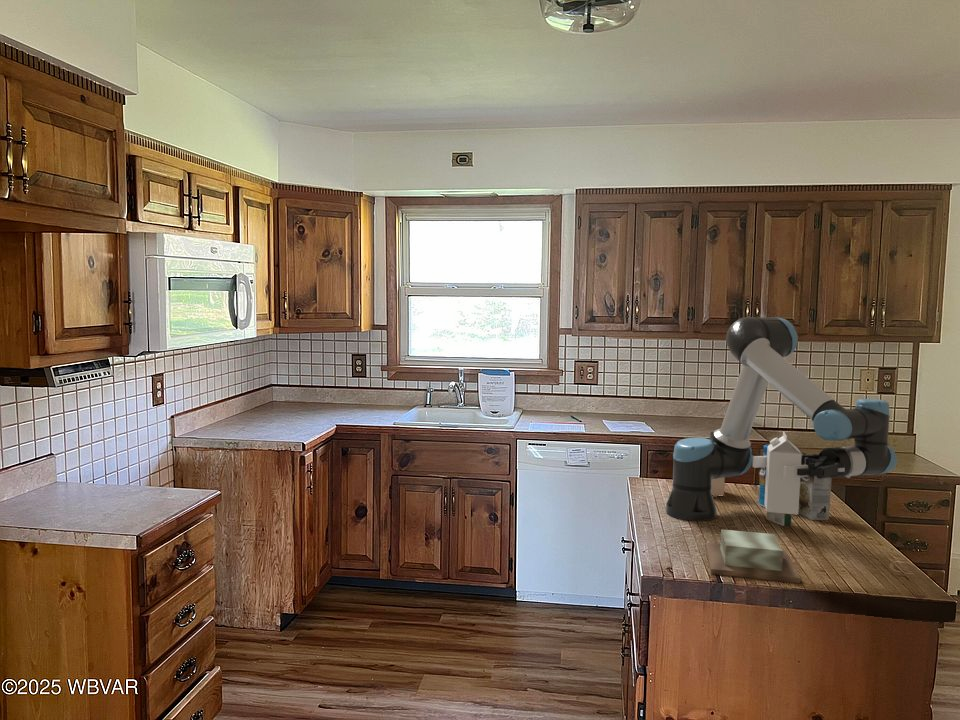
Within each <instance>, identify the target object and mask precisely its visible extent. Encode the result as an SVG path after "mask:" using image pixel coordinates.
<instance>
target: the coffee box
mask: <svg viewBox="0 0 960 720" xmlns="http://www.w3.org/2000/svg"><path fill="white" fill-rule="evenodd" d="M804 465H806V461H805V463H804ZM832 480H833V478H830V477H827V478H822V479H818V478H817V476H815V477H810V476H809V475H807V477H800V493H799V510H798V515H801V516H803V517H805V518H806V519H808V520H810V521H829V519H830V509H831V507H830V506H831V493H832V492H831V491H832Z"/></svg>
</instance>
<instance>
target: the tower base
mask: <svg viewBox="0 0 960 720" xmlns="http://www.w3.org/2000/svg"><path fill="white" fill-rule="evenodd" d="M704 545H705V551H706V556H707V557H706V558H707V563H708V568H709V571H710V574H711V575H719V576H729V577H737V578H738V577H739V578H748V579H758V580H766V581H767V580H768V581H774V582H775V581H777V582H779V581H780V582H786V583H795V584H801V577H800V575H799V573H798V571H797V570H796V567H795V566H794V564H793V562H792V560H791V558H790V556H789V554H788V552H787V551H786V549H783V548H782V546H781V545H780V542H779V541H778V539H777V537H776V535H775V534H774V533H766V532H765V533H764V532H754V531H744V530H743V531H742V530H731V529H720V543H716V542H705V544H704Z"/></svg>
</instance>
